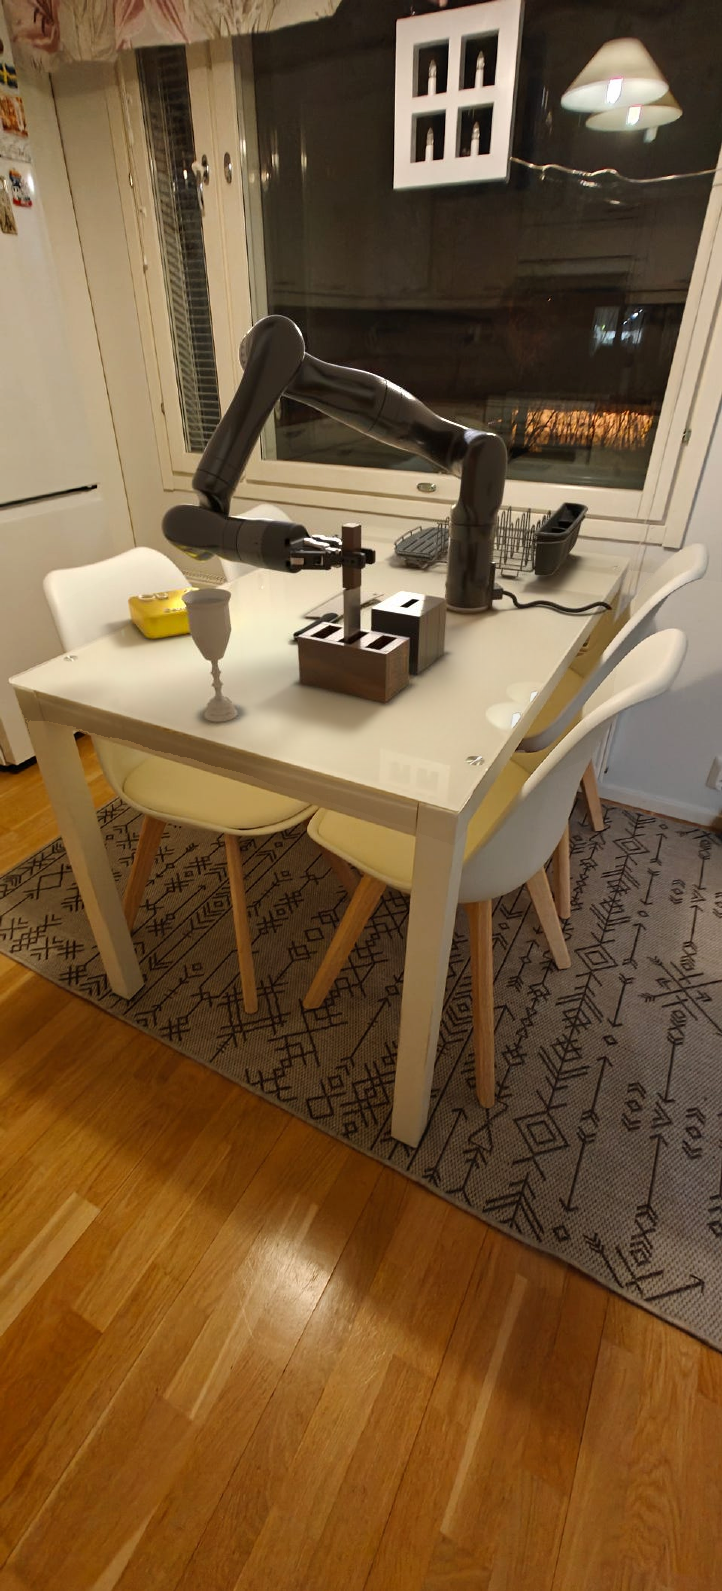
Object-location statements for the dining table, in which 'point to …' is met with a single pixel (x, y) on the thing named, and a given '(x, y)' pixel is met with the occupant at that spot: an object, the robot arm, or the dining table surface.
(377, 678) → the knife rack
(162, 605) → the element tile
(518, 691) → the dining table surface
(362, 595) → the kitchen cleaver
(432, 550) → the dish rack
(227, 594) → the chalice
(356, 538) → the chef knife
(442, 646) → the knife block
